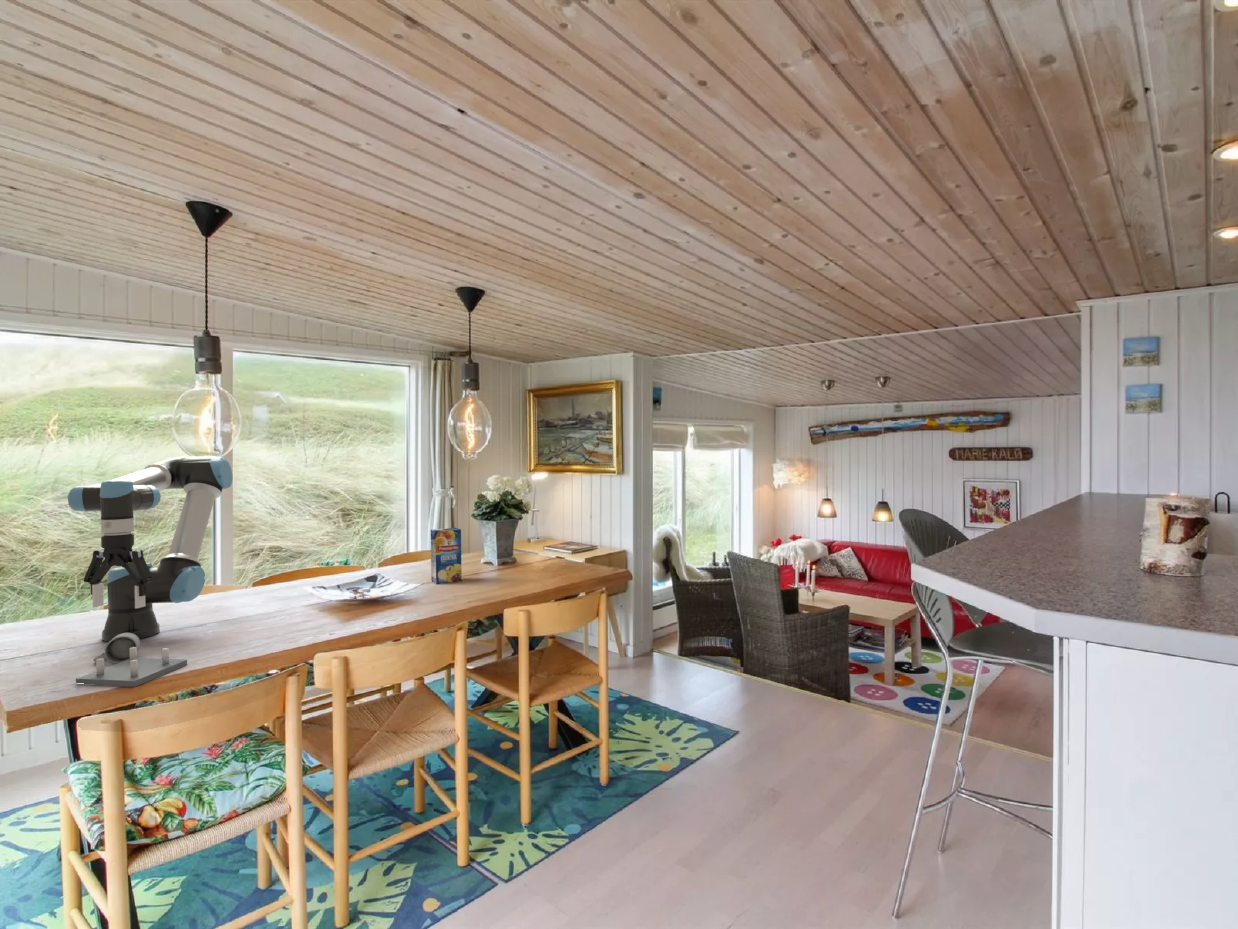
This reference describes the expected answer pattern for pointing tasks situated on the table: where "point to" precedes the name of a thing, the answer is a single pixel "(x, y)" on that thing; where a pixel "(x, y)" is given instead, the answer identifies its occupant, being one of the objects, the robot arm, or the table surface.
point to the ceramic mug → (119, 648)
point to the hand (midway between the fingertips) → (119, 606)
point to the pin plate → (124, 672)
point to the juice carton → (446, 555)
